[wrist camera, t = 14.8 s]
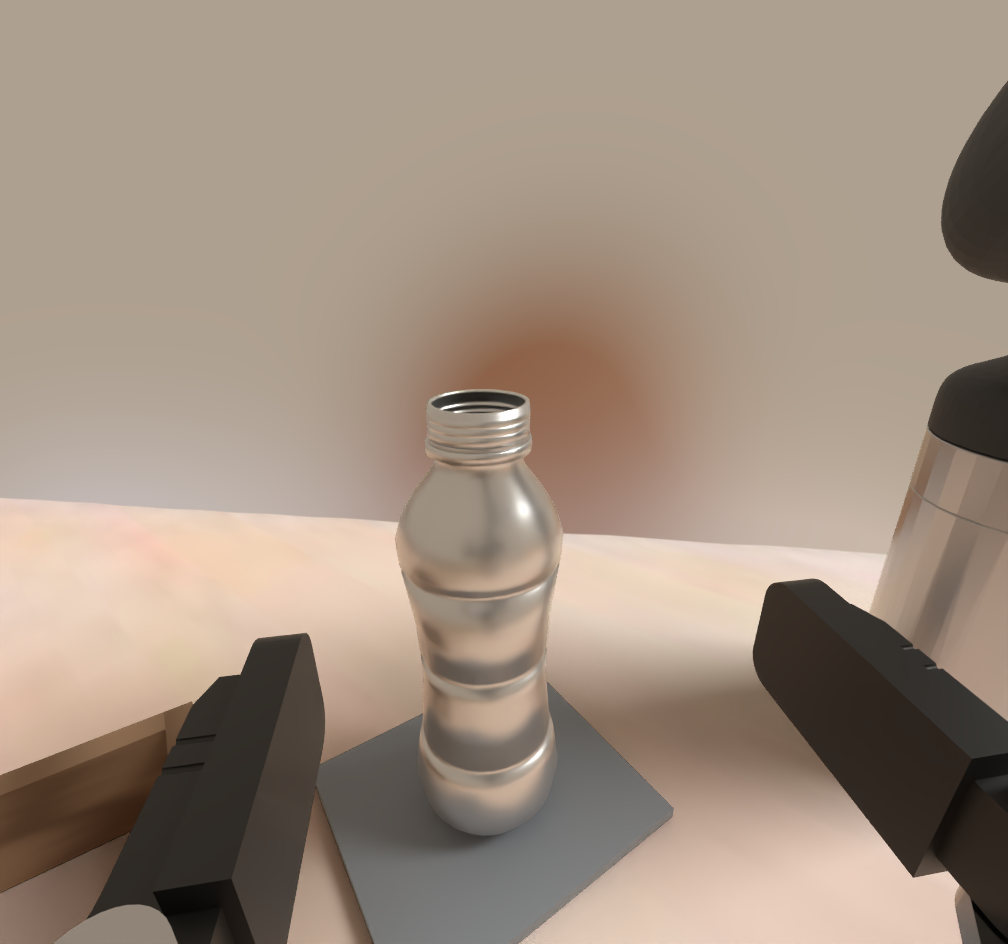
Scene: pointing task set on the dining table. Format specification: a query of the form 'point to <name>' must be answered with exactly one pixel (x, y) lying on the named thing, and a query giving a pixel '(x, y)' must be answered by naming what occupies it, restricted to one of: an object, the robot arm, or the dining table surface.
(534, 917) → the rubber mat
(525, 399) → the silver aluminum bottle
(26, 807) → the walnut sleeve
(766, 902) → the dining table surface
